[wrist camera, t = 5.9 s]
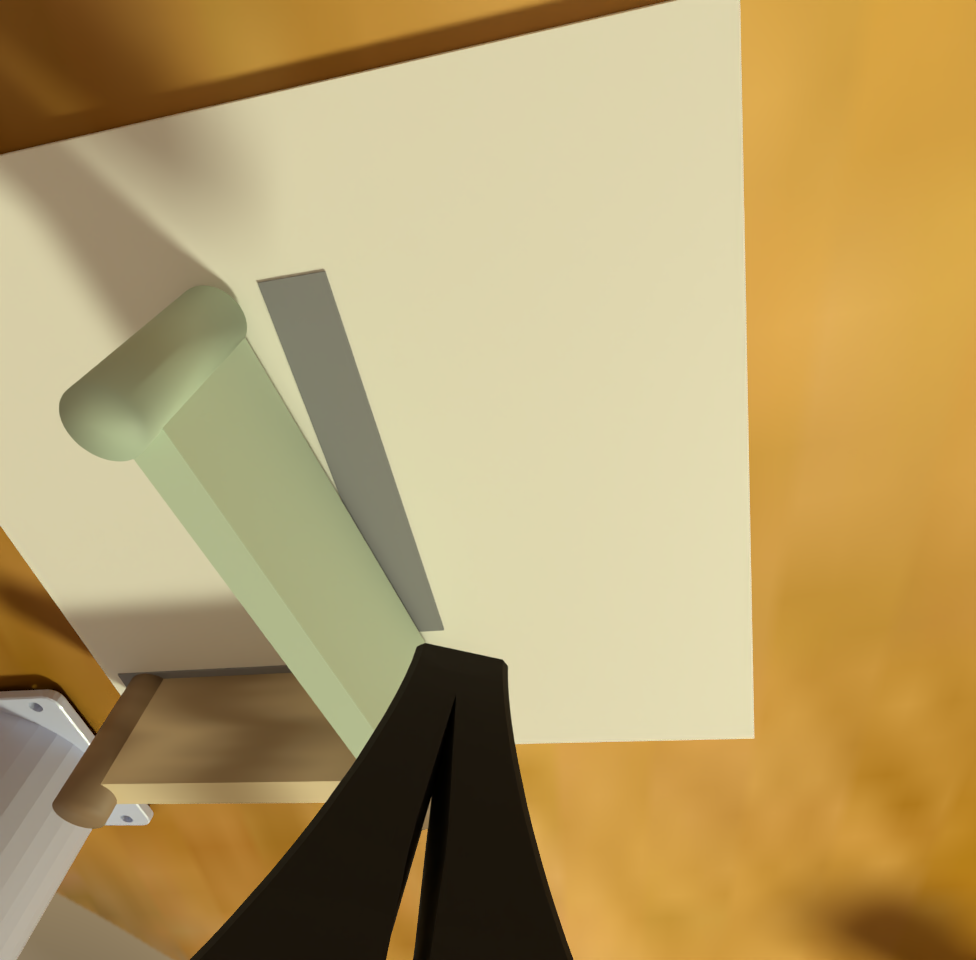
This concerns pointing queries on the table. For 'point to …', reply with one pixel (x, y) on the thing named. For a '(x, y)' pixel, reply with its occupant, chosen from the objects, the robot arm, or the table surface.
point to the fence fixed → (207, 747)
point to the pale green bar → (251, 501)
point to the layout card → (430, 360)
